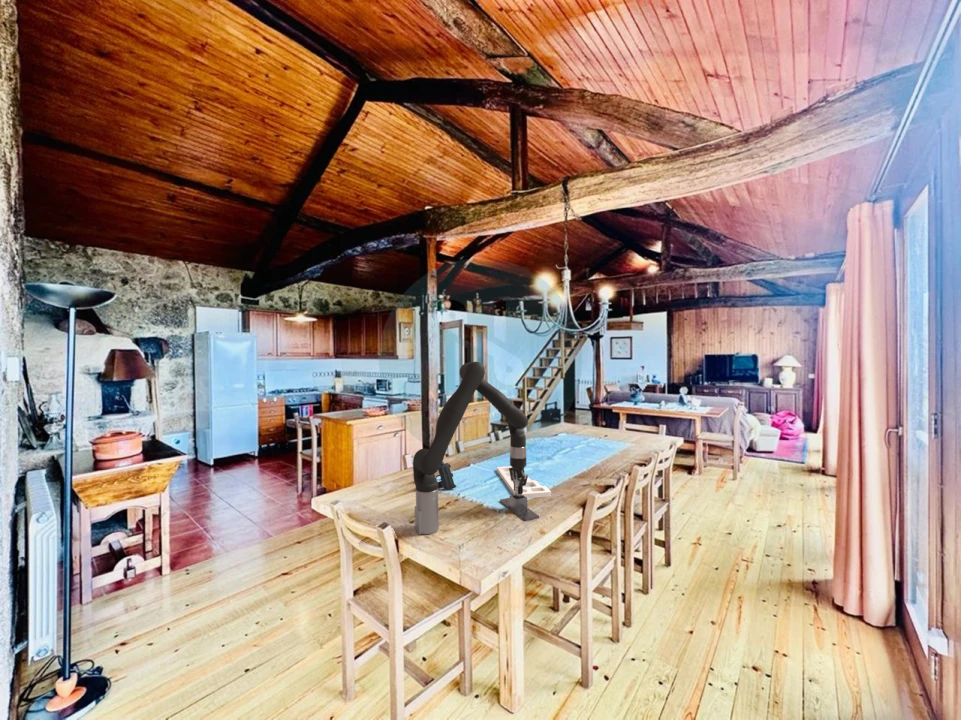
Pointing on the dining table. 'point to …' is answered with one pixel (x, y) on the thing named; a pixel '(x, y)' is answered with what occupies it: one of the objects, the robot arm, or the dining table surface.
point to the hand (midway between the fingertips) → (518, 492)
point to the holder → (527, 491)
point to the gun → (445, 477)
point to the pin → (517, 496)
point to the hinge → (519, 507)
